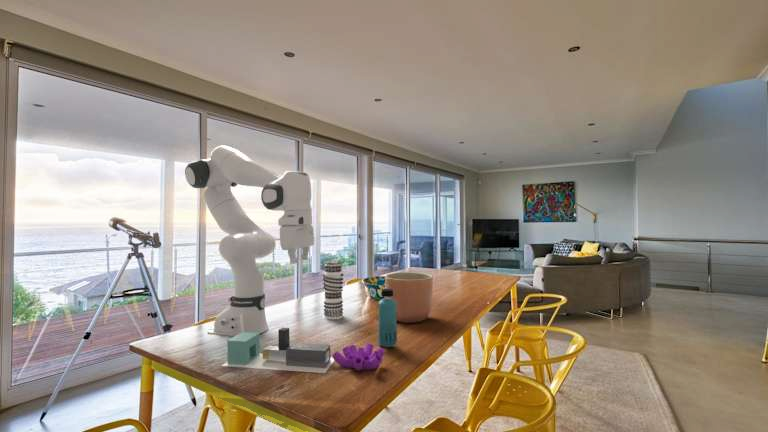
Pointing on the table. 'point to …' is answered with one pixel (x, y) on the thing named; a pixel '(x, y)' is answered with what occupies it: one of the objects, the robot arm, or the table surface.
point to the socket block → (243, 348)
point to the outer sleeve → (307, 355)
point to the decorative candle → (333, 290)
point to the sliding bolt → (281, 347)
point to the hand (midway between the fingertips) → (299, 261)
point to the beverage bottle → (387, 319)
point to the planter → (411, 295)
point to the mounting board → (279, 365)
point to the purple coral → (359, 357)
